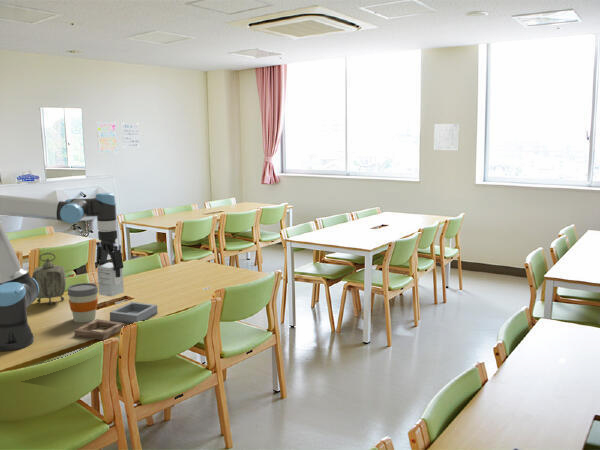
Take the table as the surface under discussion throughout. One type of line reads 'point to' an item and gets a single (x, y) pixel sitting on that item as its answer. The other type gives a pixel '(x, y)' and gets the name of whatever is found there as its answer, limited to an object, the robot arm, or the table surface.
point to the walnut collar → (87, 333)
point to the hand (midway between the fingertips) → (110, 282)
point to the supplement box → (109, 280)
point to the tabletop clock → (50, 280)
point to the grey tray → (133, 312)
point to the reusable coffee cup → (83, 301)
